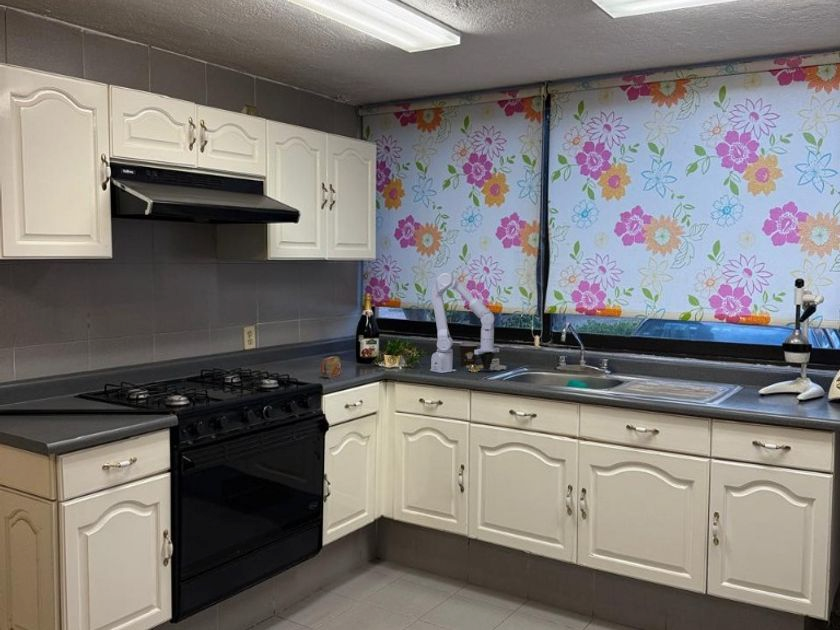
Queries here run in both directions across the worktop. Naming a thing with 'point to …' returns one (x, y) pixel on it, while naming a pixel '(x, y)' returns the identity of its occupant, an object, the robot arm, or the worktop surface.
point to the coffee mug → (468, 354)
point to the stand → (496, 365)
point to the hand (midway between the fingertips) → (486, 369)
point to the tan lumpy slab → (331, 367)
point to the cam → (474, 367)
